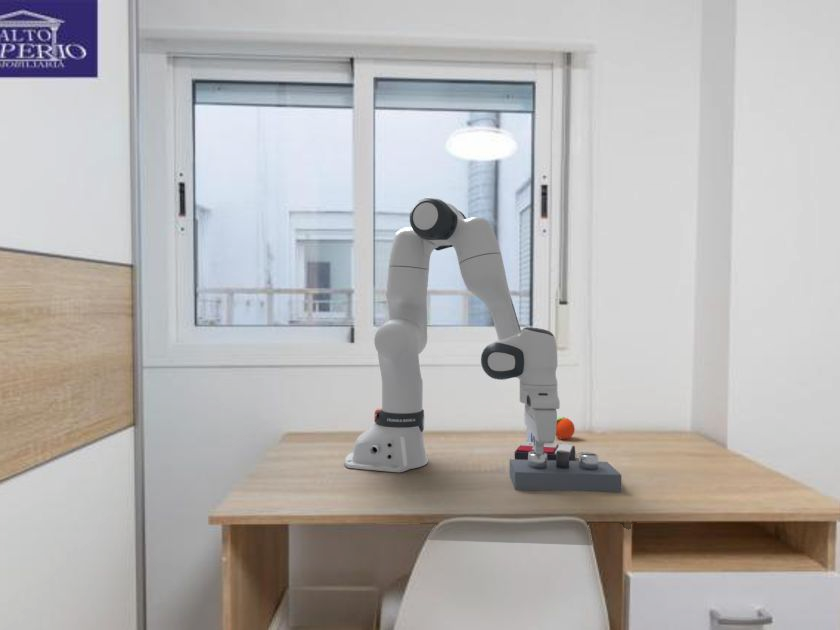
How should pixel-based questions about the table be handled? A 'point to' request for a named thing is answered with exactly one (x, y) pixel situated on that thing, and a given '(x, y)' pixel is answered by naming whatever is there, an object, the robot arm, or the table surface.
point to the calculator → (544, 450)
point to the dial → (562, 459)
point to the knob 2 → (588, 461)
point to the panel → (565, 477)
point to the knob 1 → (537, 460)
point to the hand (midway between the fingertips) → (538, 452)
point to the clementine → (564, 428)
